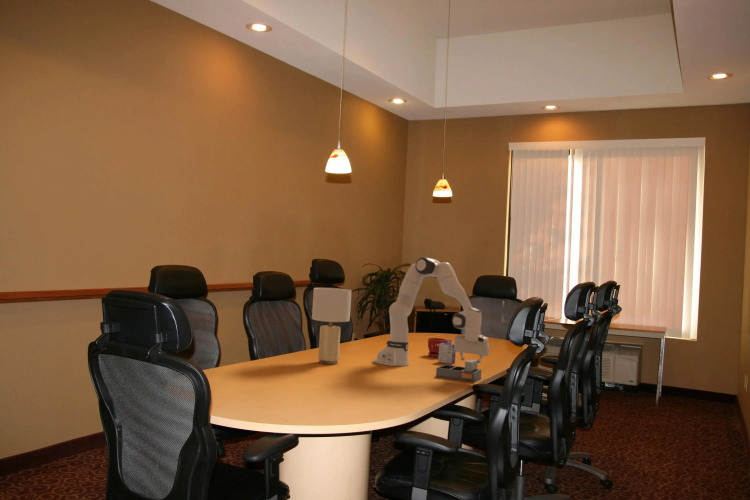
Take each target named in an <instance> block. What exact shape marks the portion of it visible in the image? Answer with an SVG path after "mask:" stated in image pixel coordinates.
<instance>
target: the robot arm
mask: <svg viewBox="0 0 750 500" xmlns="http://www.w3.org/2000/svg"><path fill="white" fill-rule="evenodd" d="M426 277H428V278H434V279H435V278H436V279H437V283H438V285H439V287H440V290H441V291H442V292H443V294H445V295H446V296H450V297H451V298H454V299H456V300H457V301H459V303H460V305H461V307H462V309H463V311H459V312H455V313H454V314H453V315H452V319H451V322H452V326H453V327H454V328H455V329H457V330H464V335H460V334H458V335H455V336H454V343H453V344H454V351H456V353H459V356H460V360H461V361H463V362H464V361H465V359H466V358H465V356H464V355H463V354H470V355H478V356H479V358H478V359H476V360H477V364H480V363H481V362H482V361H481V360H482V359H483V357H484V356H485V357H488V356H489V355H490V353H491V352H490V350H491V349H490V348H491V347H490V343H489V337H487V336H485V335H482V331H481V327H482V321H483V320H482V316H483V315H482V311H481V310H480V309H478V308H476V307H474V304H473V303H472V300H471V298H470V297H469V295H468V293H467V291H466V290H465V288H464V287H463V286H462V285H461V283H460V282H459V279H458V277H457V274H456V272H455V270H454V268H453V266H452V265H451V264H450V263H449V262H446V261H443V262H442V261H440V260H437V259H435V258H432V257H431V258H430V257H425V256H422V257H419V258H418V259H417V260H416V261H415V263H413V264H411V265H410V266H409V268H408V269H407V271H406V273H405V275H404V278H403V280H402V283H401V285H400V288H399V290H398V291H399V292H398V296H397V299H396V301H395V302H393V303H391V304H390V306H389V308H388V313H389V324H390V333H389V336H390V337H389V340H387V341H386V343H385V344H386V346H385V347H384V348H382V349H381V350H379V351H378V352H377V356H376V358H374V359H373V360H372V363H376V364H380V365H384V366H390V367H396V366H397V367H406V366H409V365H410V363H409V353H408V350H409V324H408V317H409V316H410V315H411V313H412V310H413V308H414V304H415V301H416V298H417V295H418V293H419V290H420V288H421V286H422V284H423V281H424V278H426Z"/></svg>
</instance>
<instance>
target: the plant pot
mask: <svg viewBox="0 0 750 500" xmlns="http://www.w3.org/2000/svg"><path fill="white" fill-rule="evenodd" d="M427 340H428V341H427V347H428V348H427V349H428V351H429V352H427V353H428V355H429V356H430V357H434V358H439V344H440V343H446V340H447V339H446V338H439V337H429V338H428V339H427ZM447 342H449V341H447Z"/></svg>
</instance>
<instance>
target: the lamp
mask: <svg viewBox="0 0 750 500" xmlns="http://www.w3.org/2000/svg"><path fill="white" fill-rule="evenodd" d="M312 293H313V294H312V295H313V296H312V310H311V313H312V314H311V319H312V320H314V321H319V322H326V323H328V324H327V325H324V324H323V325H320V327H319V340H318V341H319V343H318V358H317V360H318V363H319V364H321V365H326V366H335V365H338V362H339V360H340V359H339V358H340V344H341V343H340V342H341V329H342V328H341V326H339V325H333V323H342V322H343V323H345V322H350V319H351V306H352V305H351V304H352V289H349V288H348V289H346V288H338V287H337V288H336V287H313V292H312Z"/></svg>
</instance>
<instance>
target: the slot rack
mask: <svg viewBox="0 0 750 500" xmlns="http://www.w3.org/2000/svg"><path fill="white" fill-rule="evenodd" d="M435 372H436V373H435V378H442V379H450V380H456V381H462V382H470V383H475V382H477V381H478V380H481V379H482V369H479V368H477V371H475V372H473V373H471V372H465V366H457V365H453V364H447V363H444V364H442V365H440V366H438V367H436V370H435Z"/></svg>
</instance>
